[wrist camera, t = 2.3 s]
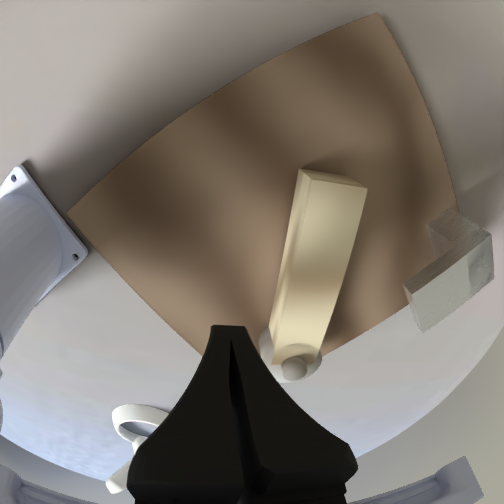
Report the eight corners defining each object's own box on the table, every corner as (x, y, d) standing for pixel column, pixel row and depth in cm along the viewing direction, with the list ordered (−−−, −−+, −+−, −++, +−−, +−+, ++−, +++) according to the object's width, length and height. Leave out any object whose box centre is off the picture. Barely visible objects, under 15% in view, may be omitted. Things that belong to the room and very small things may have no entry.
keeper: (393, 294, 21) (422, 333, 17) (378, 256, 19) (412, 294, 15) (458, 248, 20) (494, 278, 16) (449, 207, 18) (491, 233, 14)
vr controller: (83, 413, 19) (145, 479, 17) (153, 377, 30) (198, 422, 29) (56, 448, 19) (107, 503, 18) (122, 411, 31) (162, 453, 29)
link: (305, 357, 23) (315, 389, 20) (255, 358, 22) (260, 392, 19) (356, 177, 16) (383, 194, 13) (289, 167, 16) (306, 182, 13)
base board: (245, 384, 25) (246, 393, 24) (72, 208, 17) (66, 213, 16) (460, 255, 22) (467, 261, 21) (370, 15, 13) (378, 12, 12)
